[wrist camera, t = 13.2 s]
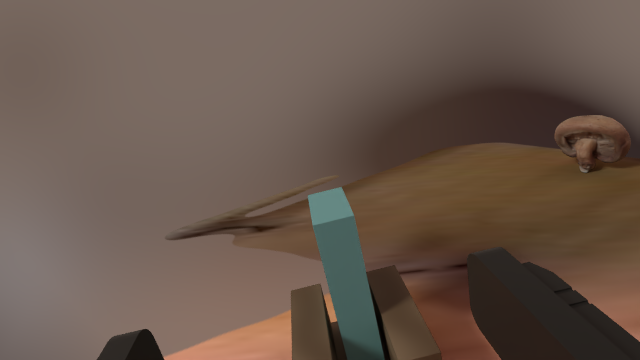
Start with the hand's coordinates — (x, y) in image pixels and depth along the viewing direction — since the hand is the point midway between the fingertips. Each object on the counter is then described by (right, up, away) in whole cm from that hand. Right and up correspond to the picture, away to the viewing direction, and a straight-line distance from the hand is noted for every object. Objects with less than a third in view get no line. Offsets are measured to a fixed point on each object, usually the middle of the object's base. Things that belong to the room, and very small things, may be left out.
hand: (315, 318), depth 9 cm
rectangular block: (+3, -9, +18) cm, 21 cm away
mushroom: (+36, +4, +38) cm, 52 cm away
